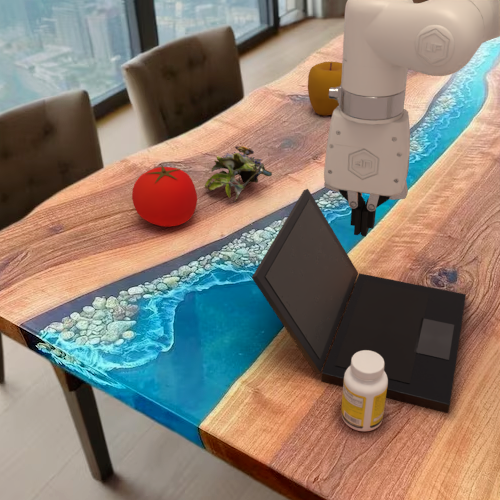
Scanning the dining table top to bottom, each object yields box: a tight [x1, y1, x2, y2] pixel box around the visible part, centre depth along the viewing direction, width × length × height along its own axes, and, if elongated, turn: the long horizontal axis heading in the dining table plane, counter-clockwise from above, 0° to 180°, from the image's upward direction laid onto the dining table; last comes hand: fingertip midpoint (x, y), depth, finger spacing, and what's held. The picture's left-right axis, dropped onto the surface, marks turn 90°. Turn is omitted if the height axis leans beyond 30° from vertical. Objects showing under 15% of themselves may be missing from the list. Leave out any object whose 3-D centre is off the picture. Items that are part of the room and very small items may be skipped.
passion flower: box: [204, 145, 273, 203], centre depth 130 cm, size 11×11×12 cm
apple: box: [307, 61, 342, 117], centre depth 161 cm, size 11×11×13 cm
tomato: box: [131, 165, 198, 228], centre depth 121 cm, size 12×12×10 cm
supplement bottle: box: [340, 350, 388, 432], centre depth 81 cm, size 5×5×10 cm
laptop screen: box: [251, 188, 359, 375], centre depth 94 cm, size 17×24×1 cm
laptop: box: [320, 272, 467, 413], centre depth 95 cm, size 17×24×2 cm
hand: (362, 230), depth 87 cm, fingers closed
